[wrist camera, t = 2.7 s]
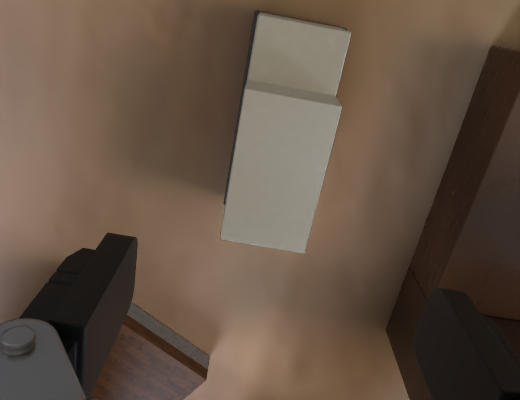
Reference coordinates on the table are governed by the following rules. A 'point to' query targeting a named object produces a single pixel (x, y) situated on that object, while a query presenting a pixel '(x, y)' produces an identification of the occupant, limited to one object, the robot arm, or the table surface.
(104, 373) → the white open shelf
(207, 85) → the table surface
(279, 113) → the white stepped block
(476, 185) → the step shelf
